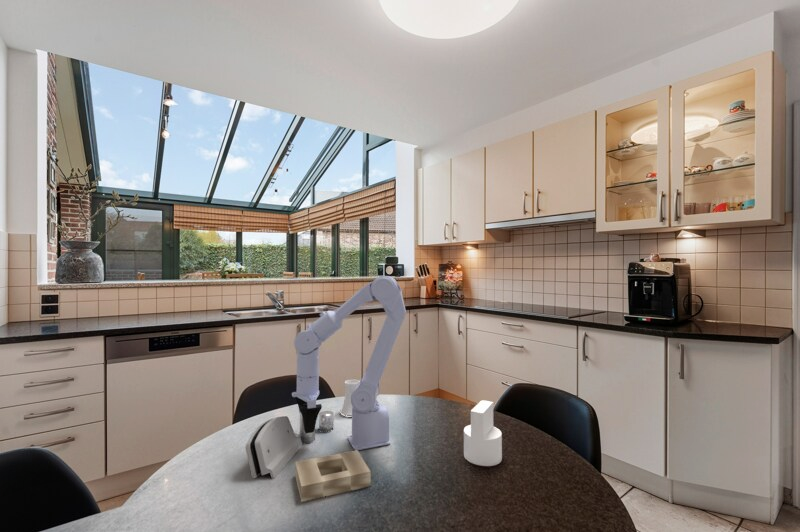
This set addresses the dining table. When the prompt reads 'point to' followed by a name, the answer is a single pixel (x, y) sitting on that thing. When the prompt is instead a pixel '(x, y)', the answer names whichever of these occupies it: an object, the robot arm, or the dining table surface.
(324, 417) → the short pin
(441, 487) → the dining table surface
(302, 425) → the tall pin
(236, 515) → the dining table surface
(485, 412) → the base with upright slab
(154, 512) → the dining table surface
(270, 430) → the white slotted housing
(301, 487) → the hole plate
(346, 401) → the vase
